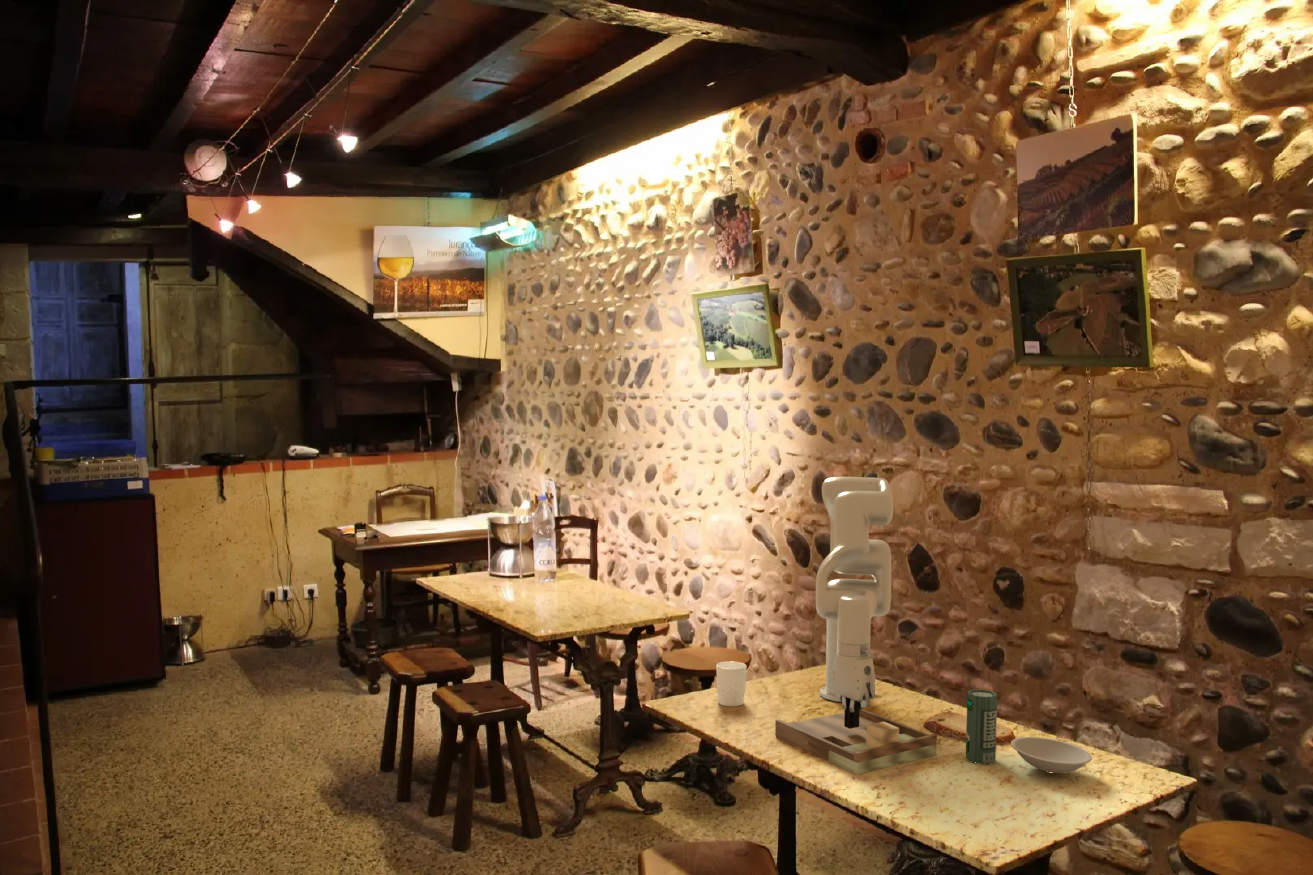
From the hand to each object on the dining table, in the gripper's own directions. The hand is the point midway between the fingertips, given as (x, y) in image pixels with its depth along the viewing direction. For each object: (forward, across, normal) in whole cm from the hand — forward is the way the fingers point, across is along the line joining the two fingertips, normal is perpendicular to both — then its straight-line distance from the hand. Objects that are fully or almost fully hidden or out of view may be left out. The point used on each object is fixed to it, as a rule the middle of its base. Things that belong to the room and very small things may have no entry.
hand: (851, 726), depth 243 cm
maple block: (+2, -11, +1) cm, 11 cm away
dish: (+4, -35, -25) cm, 43 cm away
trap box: (+4, -1, 0) cm, 4 cm away
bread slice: (+5, -8, -31) cm, 32 cm away
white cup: (+5, +40, +6) cm, 41 cm away
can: (+4, -22, -18) cm, 29 cm away
